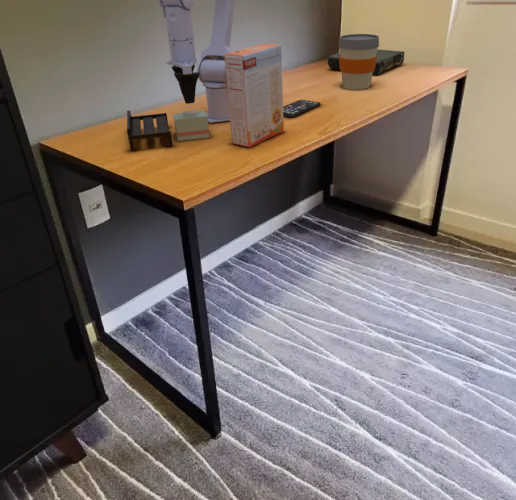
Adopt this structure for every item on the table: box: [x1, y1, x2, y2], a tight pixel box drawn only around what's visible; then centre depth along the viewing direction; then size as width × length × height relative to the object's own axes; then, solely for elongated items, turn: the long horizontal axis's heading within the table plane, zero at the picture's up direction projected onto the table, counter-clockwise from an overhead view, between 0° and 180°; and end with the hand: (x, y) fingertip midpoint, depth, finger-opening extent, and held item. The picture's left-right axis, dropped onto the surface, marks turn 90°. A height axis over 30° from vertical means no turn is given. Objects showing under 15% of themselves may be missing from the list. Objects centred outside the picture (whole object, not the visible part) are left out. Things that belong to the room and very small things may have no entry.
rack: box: [126, 110, 174, 152], centre depth 123 cm, size 10×16×6 cm, turn 13°
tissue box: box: [173, 109, 211, 142], centre depth 123 cm, size 8×5×6 cm, turn 103°
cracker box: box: [224, 42, 285, 148], centre depth 116 cm, size 14×6×21 cm, turn 141°
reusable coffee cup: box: [338, 33, 380, 91], centre depth 157 cm, size 13×13×15 cm
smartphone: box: [283, 99, 321, 118], centre depth 140 cm, size 7×1×15 cm
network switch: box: [327, 49, 405, 76], centre depth 182 cm, size 23×24×5 cm
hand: (188, 99), depth 120 cm, fingers open, 7 cm apart
